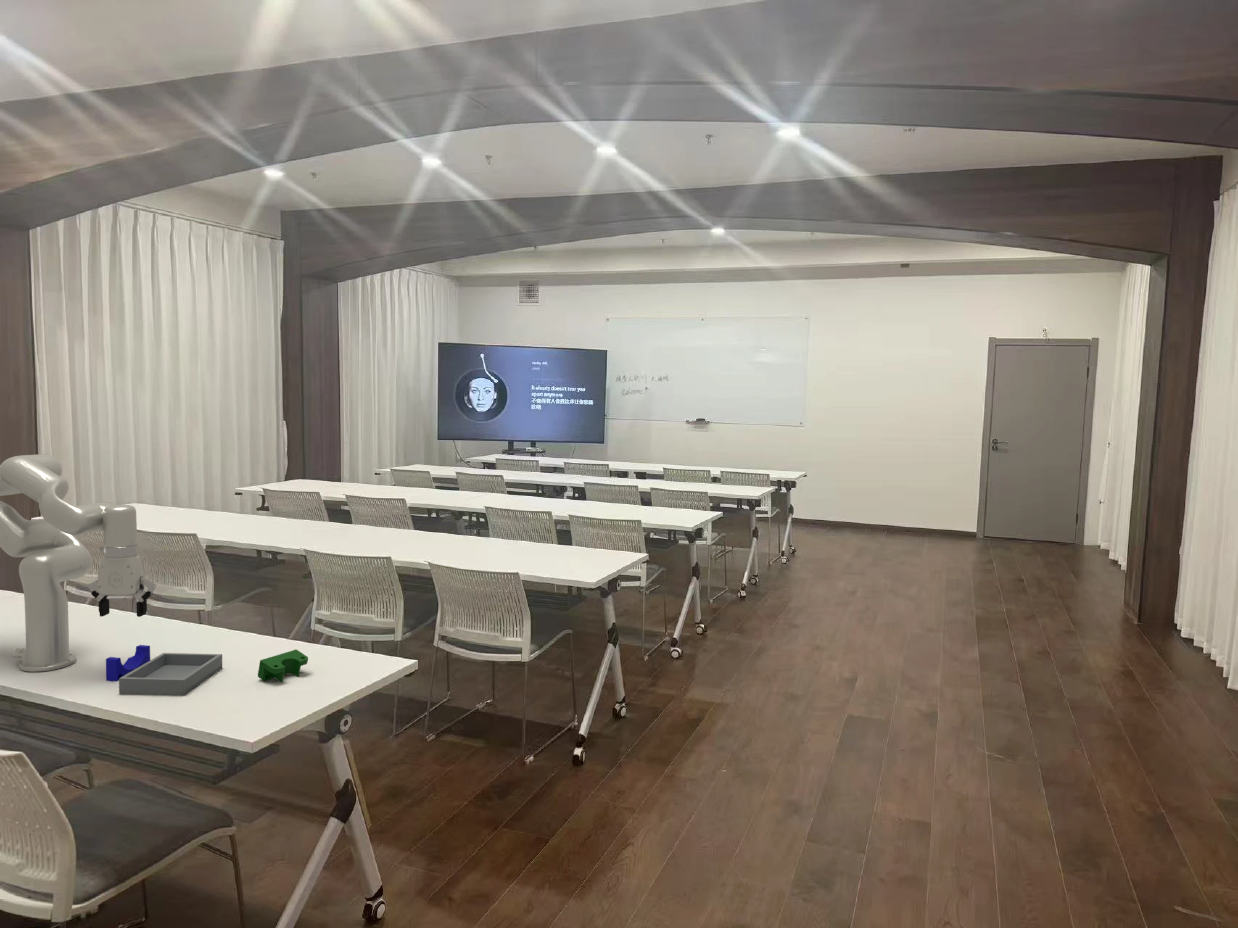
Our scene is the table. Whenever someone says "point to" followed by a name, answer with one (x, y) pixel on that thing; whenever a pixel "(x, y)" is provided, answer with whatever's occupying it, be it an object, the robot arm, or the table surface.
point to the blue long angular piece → (126, 663)
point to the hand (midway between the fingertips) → (123, 615)
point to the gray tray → (170, 674)
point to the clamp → (282, 665)
